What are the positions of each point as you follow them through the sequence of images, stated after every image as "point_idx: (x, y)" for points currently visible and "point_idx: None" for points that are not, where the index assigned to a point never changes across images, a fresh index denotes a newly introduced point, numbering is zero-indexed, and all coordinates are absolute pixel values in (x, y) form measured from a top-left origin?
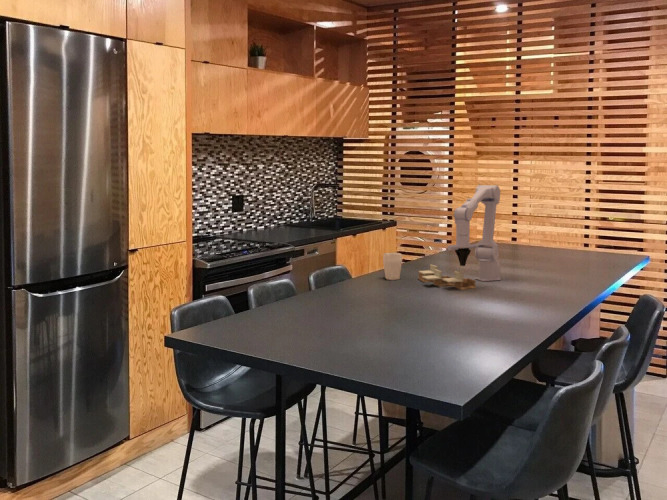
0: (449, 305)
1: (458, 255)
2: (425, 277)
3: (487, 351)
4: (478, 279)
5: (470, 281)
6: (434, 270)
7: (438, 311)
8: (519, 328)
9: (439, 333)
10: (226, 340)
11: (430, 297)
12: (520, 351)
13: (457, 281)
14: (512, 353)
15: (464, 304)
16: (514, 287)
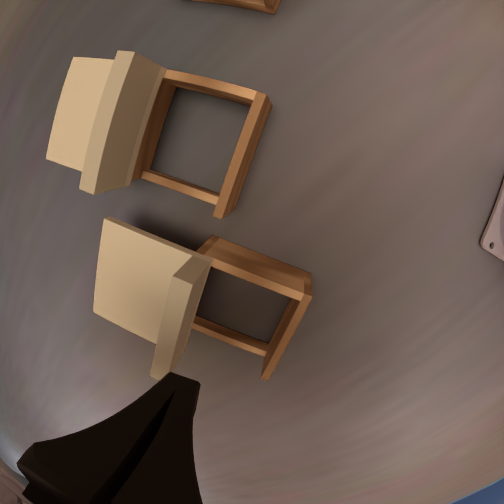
0: (44, 403)
1: (98, 441)
2: (55, 116)
3: None
4: (500, 192)
5: (282, 331)
6: (118, 66)
7: (18, 402)
8: None
9: (9, 436)
10: None
11: (24, 317)
12: None
13: (147, 334)
14: None
15: (77, 426)
16: (418, 422)
